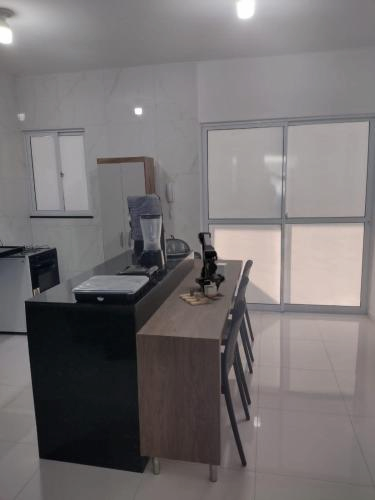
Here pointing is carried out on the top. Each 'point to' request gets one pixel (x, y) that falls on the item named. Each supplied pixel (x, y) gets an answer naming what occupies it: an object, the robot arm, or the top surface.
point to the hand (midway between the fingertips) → (210, 292)
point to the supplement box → (222, 270)
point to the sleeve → (210, 290)
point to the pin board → (195, 298)
